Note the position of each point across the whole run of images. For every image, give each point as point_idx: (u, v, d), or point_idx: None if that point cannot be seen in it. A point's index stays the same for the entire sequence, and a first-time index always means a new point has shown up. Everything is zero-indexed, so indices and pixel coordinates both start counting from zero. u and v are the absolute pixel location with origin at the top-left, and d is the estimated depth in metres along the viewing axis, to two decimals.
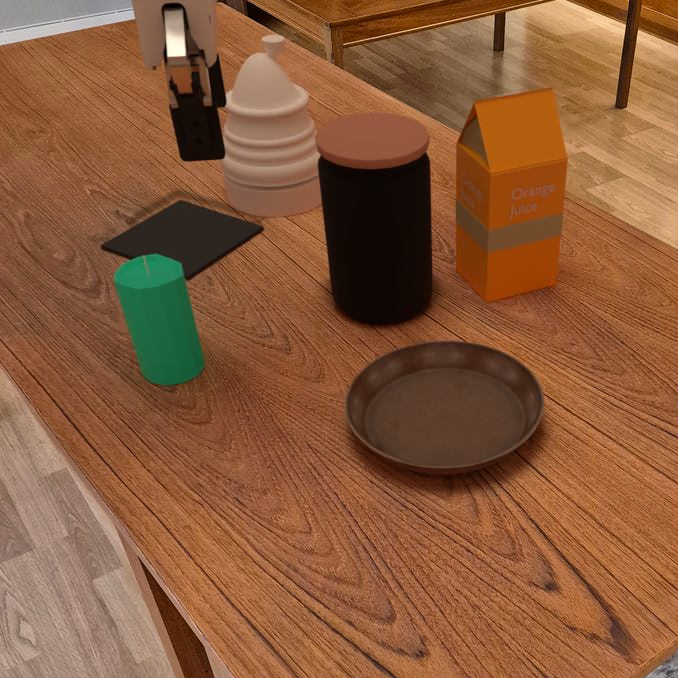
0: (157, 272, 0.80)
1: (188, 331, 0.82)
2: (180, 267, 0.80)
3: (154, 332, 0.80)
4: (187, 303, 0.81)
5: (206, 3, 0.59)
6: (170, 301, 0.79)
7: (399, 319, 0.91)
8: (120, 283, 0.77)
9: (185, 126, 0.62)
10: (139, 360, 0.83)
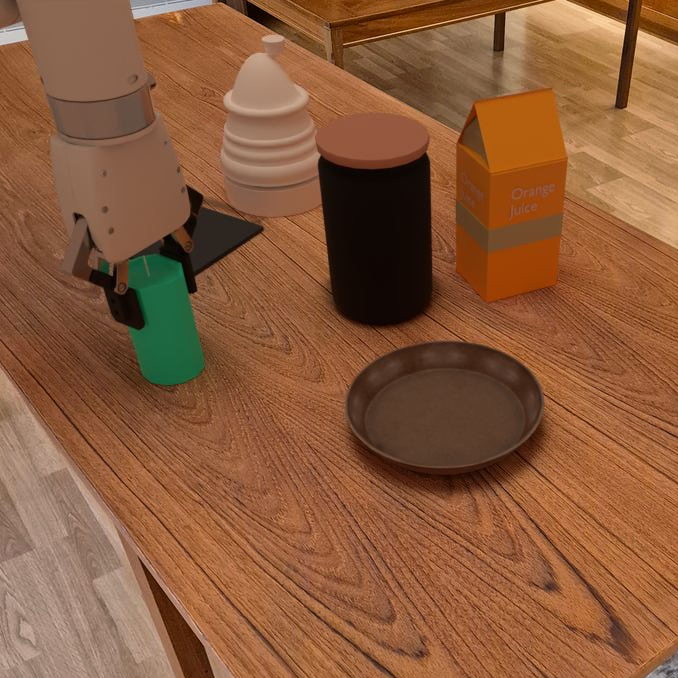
0: (156, 272, 0.80)
1: (188, 331, 0.82)
2: (180, 267, 0.80)
3: (154, 332, 0.80)
4: (187, 303, 0.81)
5: (105, 220, 0.70)
6: (170, 301, 0.79)
7: (399, 319, 0.91)
8: None
9: (107, 300, 0.77)
10: (139, 360, 0.83)
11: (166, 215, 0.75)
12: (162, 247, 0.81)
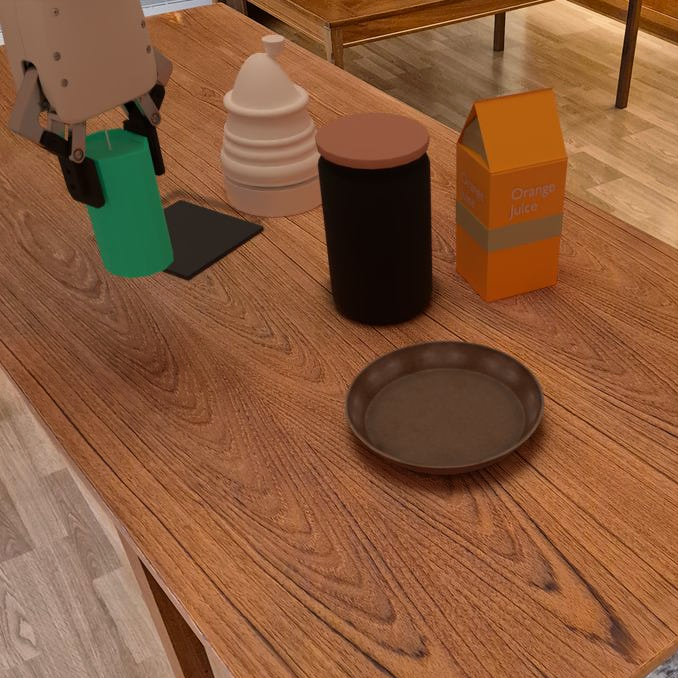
0: (119, 146, 0.72)
1: (154, 216, 0.74)
2: (145, 141, 0.72)
3: (116, 213, 0.72)
4: (153, 183, 0.73)
5: (57, 68, 0.62)
6: (134, 177, 0.71)
7: (399, 319, 0.91)
8: None
9: (62, 171, 0.69)
10: (100, 249, 0.76)
11: (129, 75, 0.68)
12: (126, 121, 0.73)
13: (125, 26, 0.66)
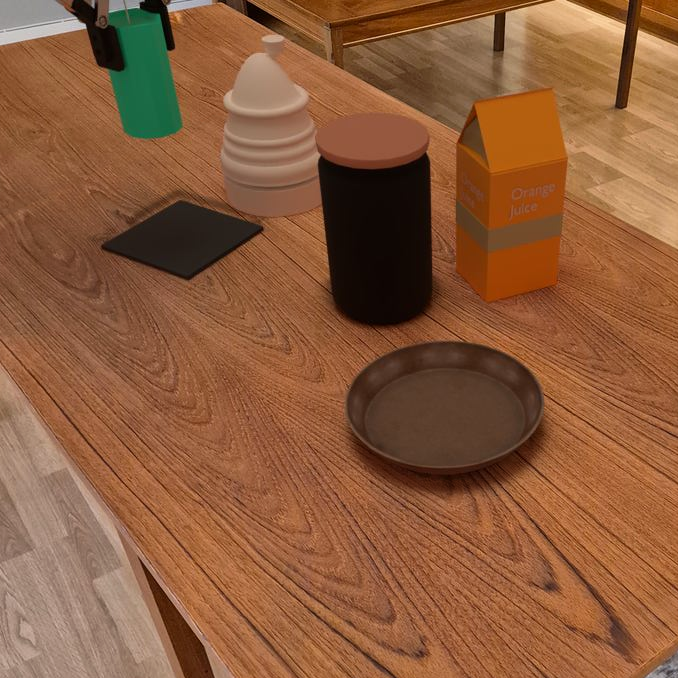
0: (136, 21, 0.86)
1: (166, 83, 0.88)
2: (158, 17, 0.86)
3: (134, 78, 0.86)
4: (165, 53, 0.87)
5: None
6: (149, 45, 0.85)
7: (399, 319, 0.91)
8: None
9: (89, 38, 0.83)
10: (121, 114, 0.89)
11: None
12: (142, 2, 0.87)
13: None
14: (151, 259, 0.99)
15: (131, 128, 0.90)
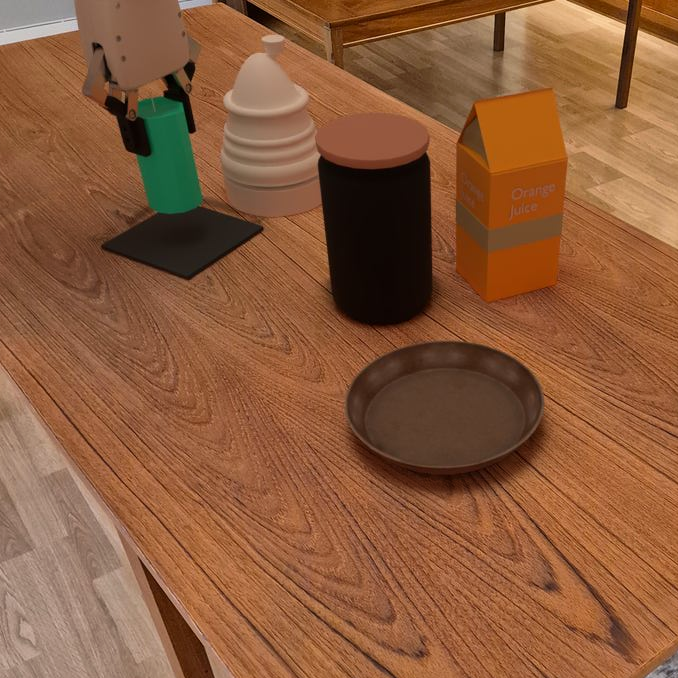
0: (161, 109, 0.94)
1: (188, 164, 0.96)
2: (181, 105, 0.94)
3: (160, 161, 0.94)
4: (187, 138, 0.95)
5: (118, 48, 0.84)
6: (173, 132, 0.93)
7: (399, 319, 0.91)
8: None
9: (120, 128, 0.91)
10: (146, 191, 0.98)
11: (169, 54, 0.90)
12: (166, 91, 0.95)
13: (166, 16, 0.87)
14: (151, 259, 0.99)
15: (156, 204, 0.98)
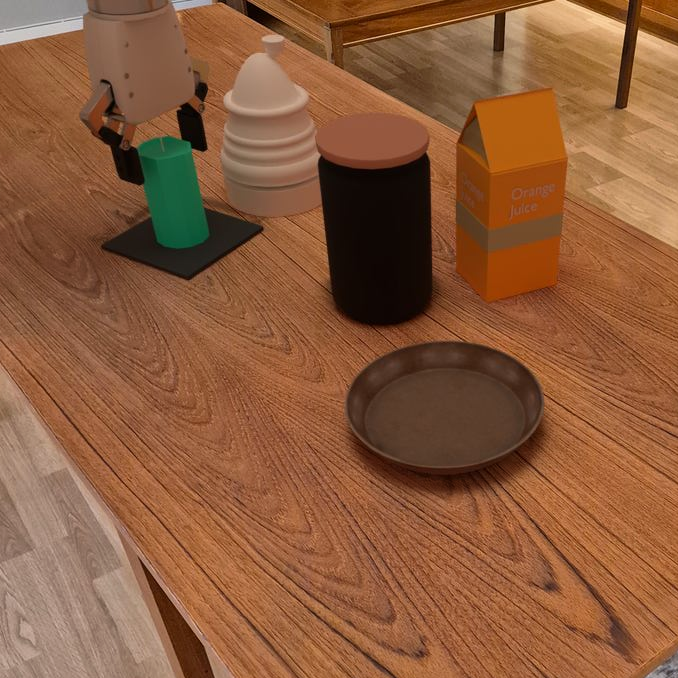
0: (170, 149, 0.97)
1: (195, 201, 0.99)
2: (189, 145, 0.97)
3: (168, 199, 0.97)
4: (195, 176, 0.98)
5: (126, 85, 0.87)
6: (181, 171, 0.96)
7: (399, 319, 0.91)
8: (140, 155, 0.94)
9: (113, 157, 0.92)
10: (155, 227, 1.00)
11: (175, 89, 0.92)
12: (179, 110, 0.98)
13: (173, 53, 0.90)
14: (151, 259, 0.99)
15: (164, 239, 1.01)
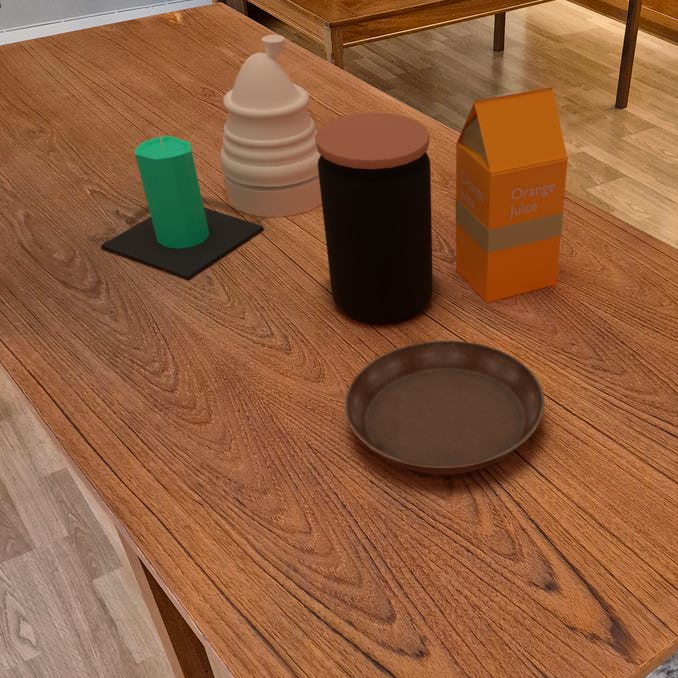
0: (170, 149, 0.97)
1: (195, 201, 0.99)
2: (189, 145, 0.97)
3: (168, 199, 0.97)
4: (195, 176, 0.98)
5: None
6: (181, 171, 0.96)
7: (399, 319, 0.91)
8: (140, 155, 0.94)
9: None
10: (155, 227, 1.00)
11: None
12: None
13: None
14: (151, 259, 0.99)
15: (164, 239, 1.01)
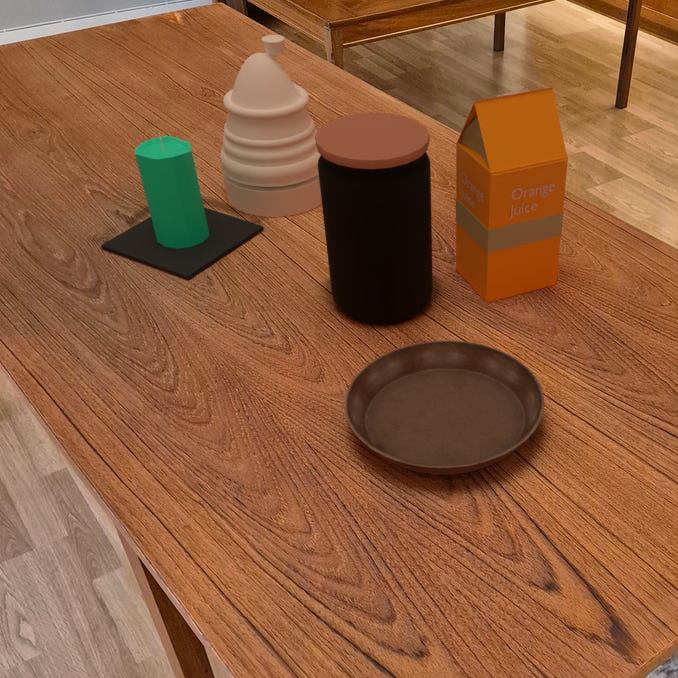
0: (170, 149, 0.97)
1: (195, 201, 0.99)
2: (189, 145, 0.97)
3: (168, 199, 0.97)
4: (195, 176, 0.98)
5: None
6: (181, 171, 0.96)
7: (399, 319, 0.91)
8: (140, 155, 0.94)
9: None
10: (155, 227, 1.00)
11: None
12: None
13: None
14: (151, 259, 0.99)
15: (164, 239, 1.01)
